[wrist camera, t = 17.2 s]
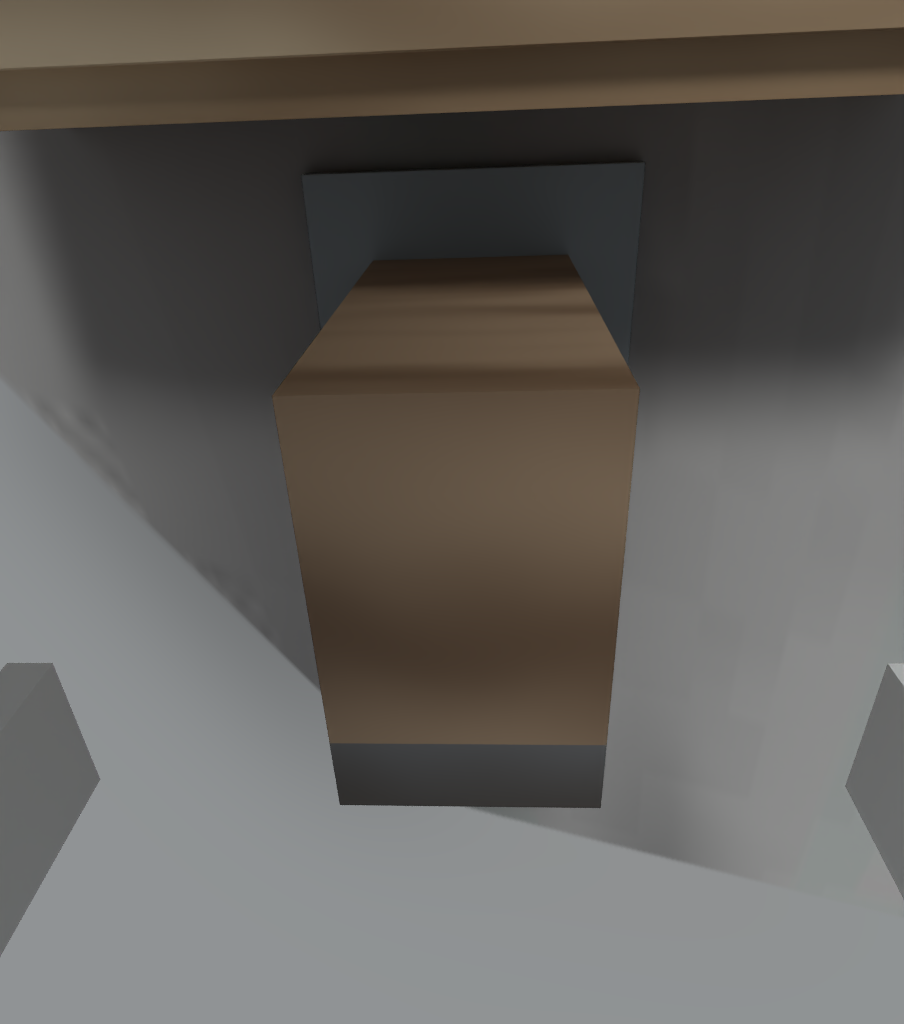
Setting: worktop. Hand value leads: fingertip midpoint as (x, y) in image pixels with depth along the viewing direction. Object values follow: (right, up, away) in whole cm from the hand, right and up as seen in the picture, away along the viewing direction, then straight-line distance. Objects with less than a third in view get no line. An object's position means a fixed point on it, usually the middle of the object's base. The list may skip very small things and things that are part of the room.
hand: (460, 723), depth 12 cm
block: (+1, +7, +13) cm, 15 cm away
